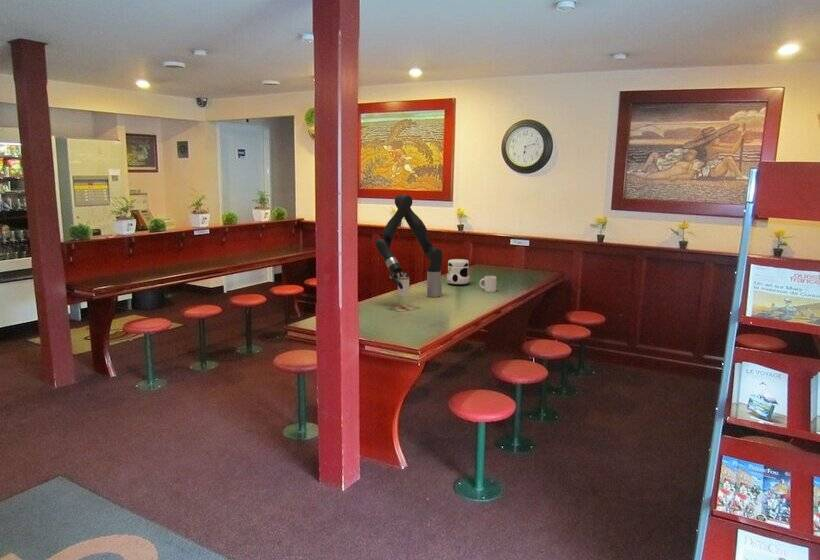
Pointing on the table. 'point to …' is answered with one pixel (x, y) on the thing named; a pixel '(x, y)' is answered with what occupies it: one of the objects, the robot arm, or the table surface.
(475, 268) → the table surface
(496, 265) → the table surface
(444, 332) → the table surface
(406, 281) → the canister
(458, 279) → the milk container
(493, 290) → the mug
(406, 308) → the mat
